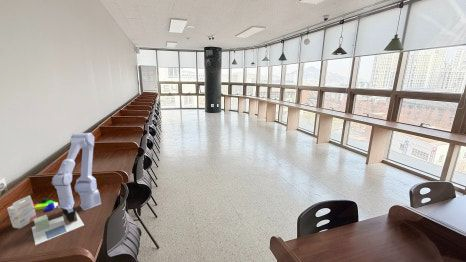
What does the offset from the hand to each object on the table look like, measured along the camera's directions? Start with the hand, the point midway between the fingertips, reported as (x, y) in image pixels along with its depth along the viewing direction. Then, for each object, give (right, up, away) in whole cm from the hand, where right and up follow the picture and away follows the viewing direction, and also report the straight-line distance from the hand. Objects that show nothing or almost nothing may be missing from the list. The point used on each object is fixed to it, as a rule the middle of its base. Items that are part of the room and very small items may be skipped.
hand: (70, 218), depth 116 cm
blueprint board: (-3, -3, -4) cm, 6 cm away
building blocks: (-27, +1, +14) cm, 30 cm away
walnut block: (0, -1, 0) cm, 1 cm away
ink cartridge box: (-23, -2, -1) cm, 23 cm away
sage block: (-11, -2, -5) cm, 12 cm away
